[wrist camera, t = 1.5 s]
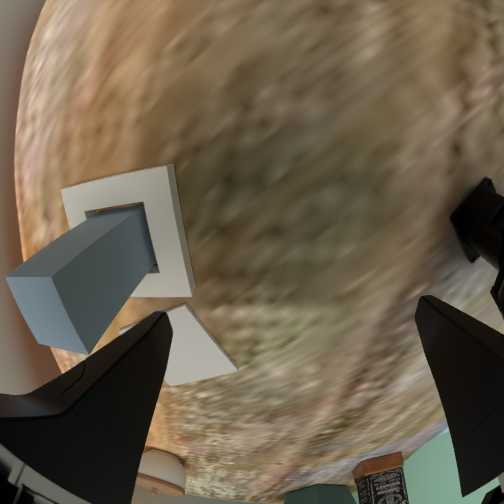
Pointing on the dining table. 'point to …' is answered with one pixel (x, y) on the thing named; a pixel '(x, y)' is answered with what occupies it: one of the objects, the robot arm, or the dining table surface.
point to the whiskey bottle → (381, 480)
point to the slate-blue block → (84, 278)
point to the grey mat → (192, 349)
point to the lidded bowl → (161, 473)
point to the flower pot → (321, 495)
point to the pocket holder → (158, 217)
